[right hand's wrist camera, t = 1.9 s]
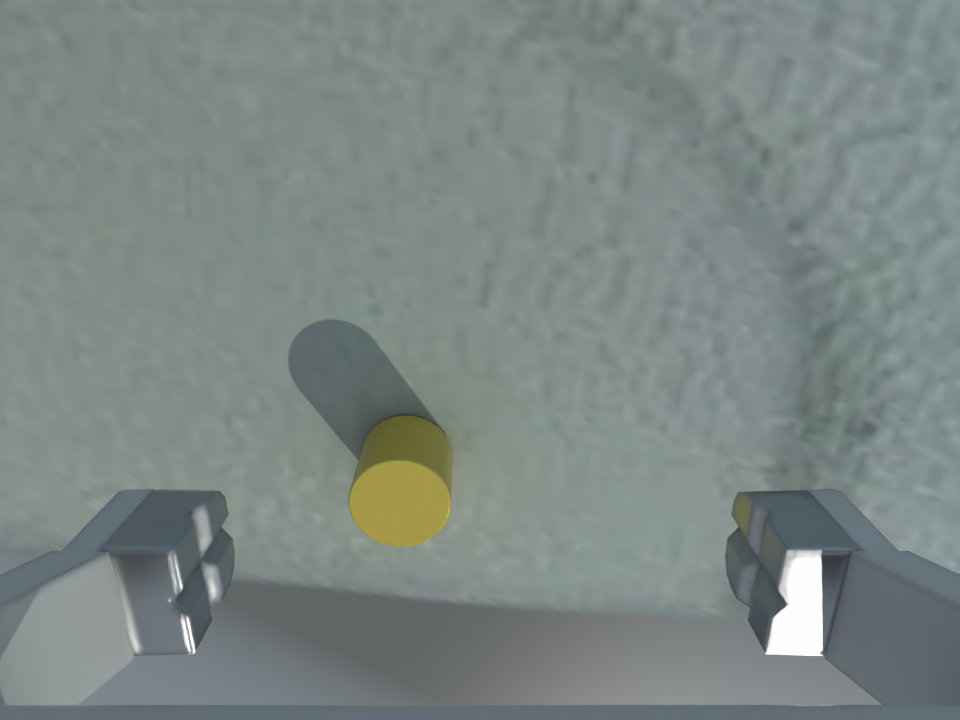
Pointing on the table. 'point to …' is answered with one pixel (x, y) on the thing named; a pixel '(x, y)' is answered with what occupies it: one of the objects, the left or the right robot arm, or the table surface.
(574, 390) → the table surface
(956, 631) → the right robot arm
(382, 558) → the table surface
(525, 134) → the table surface
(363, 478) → the canister
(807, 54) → the table surface
